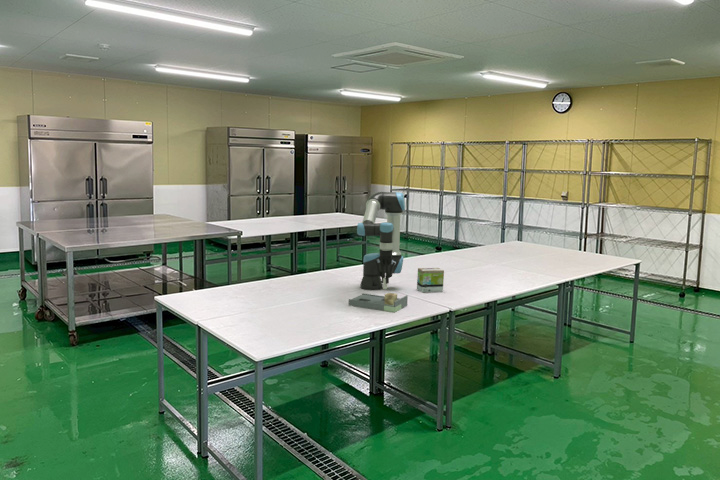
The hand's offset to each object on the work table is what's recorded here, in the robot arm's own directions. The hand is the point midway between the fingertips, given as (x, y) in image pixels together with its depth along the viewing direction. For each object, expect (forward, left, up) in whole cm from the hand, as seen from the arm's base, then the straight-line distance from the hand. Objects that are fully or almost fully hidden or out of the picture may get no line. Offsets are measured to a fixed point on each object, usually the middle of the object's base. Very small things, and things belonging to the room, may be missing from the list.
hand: (385, 288), depth 329 cm
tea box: (+9, +51, -11) cm, 53 cm away
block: (+6, -4, -7) cm, 10 cm away
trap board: (-4, -2, -10) cm, 11 cm away
